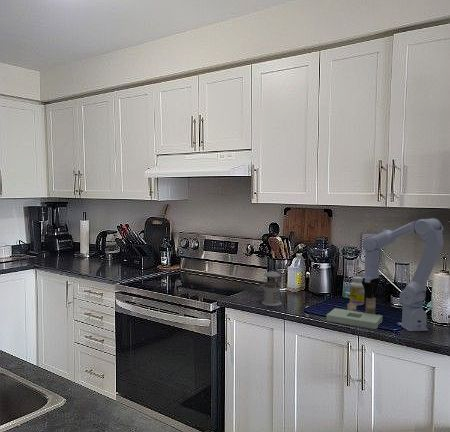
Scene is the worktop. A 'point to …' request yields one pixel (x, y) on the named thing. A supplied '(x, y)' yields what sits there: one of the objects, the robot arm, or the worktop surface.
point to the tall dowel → (370, 305)
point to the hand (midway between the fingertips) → (370, 296)
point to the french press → (272, 288)
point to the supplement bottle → (357, 291)
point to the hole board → (354, 318)
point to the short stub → (351, 306)
